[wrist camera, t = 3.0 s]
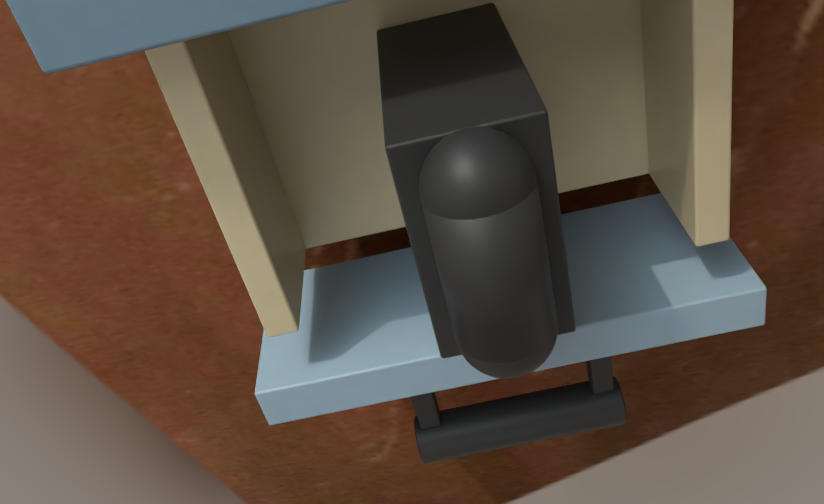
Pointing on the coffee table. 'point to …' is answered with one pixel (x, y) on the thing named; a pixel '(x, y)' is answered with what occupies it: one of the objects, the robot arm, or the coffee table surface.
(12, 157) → the coffee table surface
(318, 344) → the drawer
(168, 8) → the cabinet
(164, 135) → the coffee table surface
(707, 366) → the coffee table surface
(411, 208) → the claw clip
